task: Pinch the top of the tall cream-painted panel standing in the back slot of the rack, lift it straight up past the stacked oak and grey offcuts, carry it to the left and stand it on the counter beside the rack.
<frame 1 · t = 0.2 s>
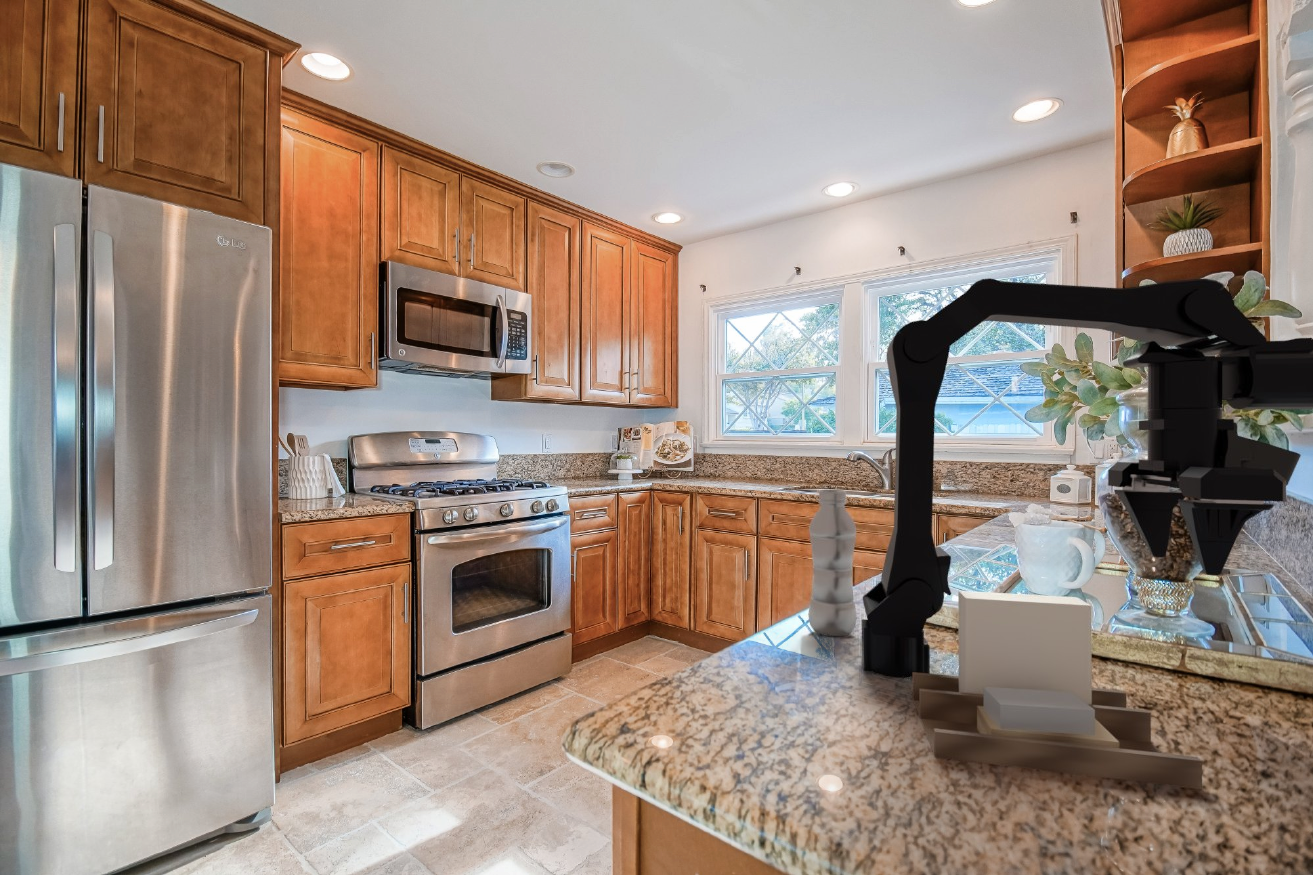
hand: (1183, 565, 62), 14 cm above the counter, tool pointing down, fingers open, 9 cm apart
panel: (1022, 718, 56), point 1 cm above the counter, touching rack
oak offcut: (1043, 746, 51), point 1 cm above the counter, touching grey offcut, rack
grey offcut: (1036, 722, 51), point 3 cm above the counter, touching oak offcut
plastic bottle: (832, 635, 86), on the counter
rack: (1032, 749, 54), on the counter
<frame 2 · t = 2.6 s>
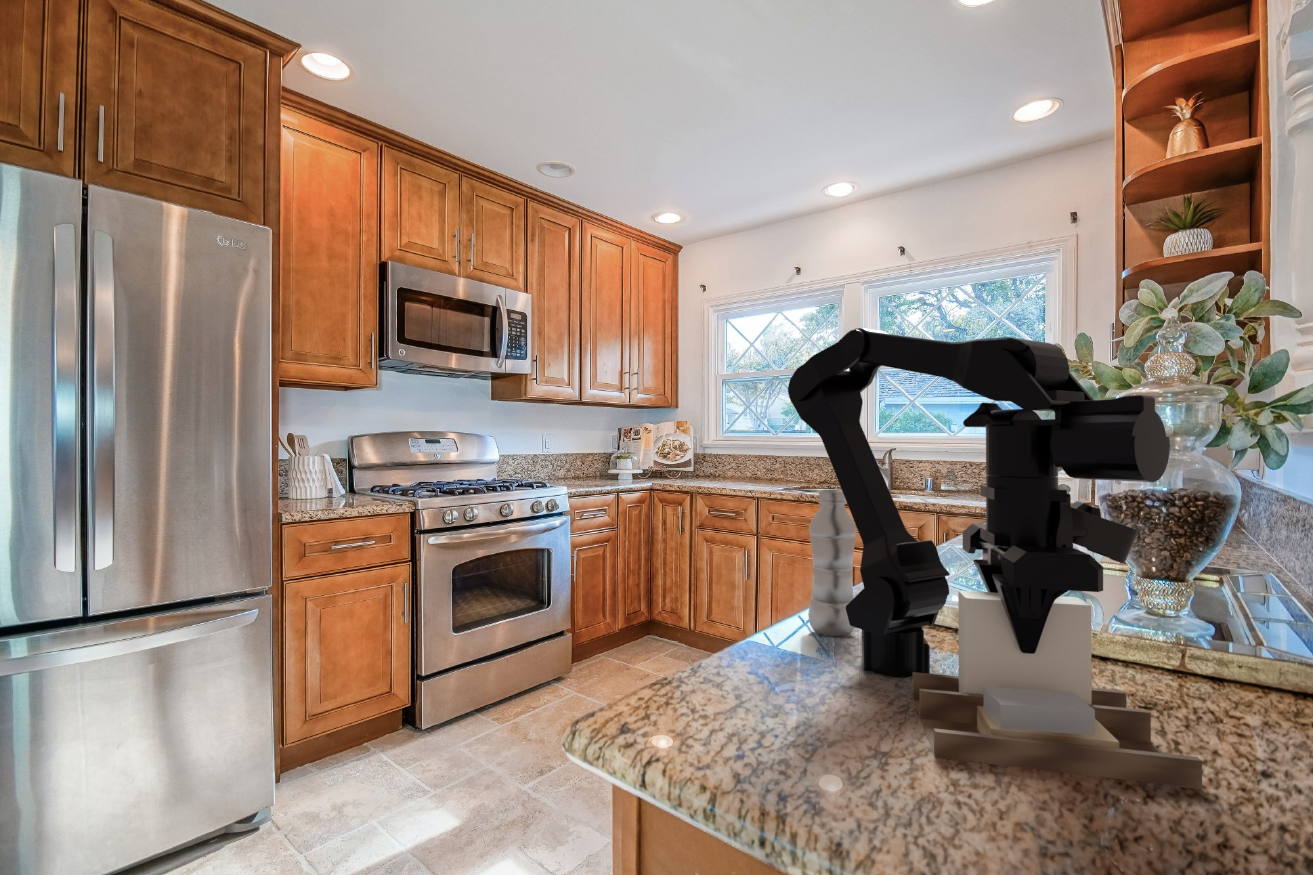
hand: (1021, 646, 56), 8 cm above the counter, tool pointing down, fingers closed on panel, 3 cm apart
panel: (1022, 718, 56), point 2 cm above the counter, touching gripper, rack
everything else where it was.
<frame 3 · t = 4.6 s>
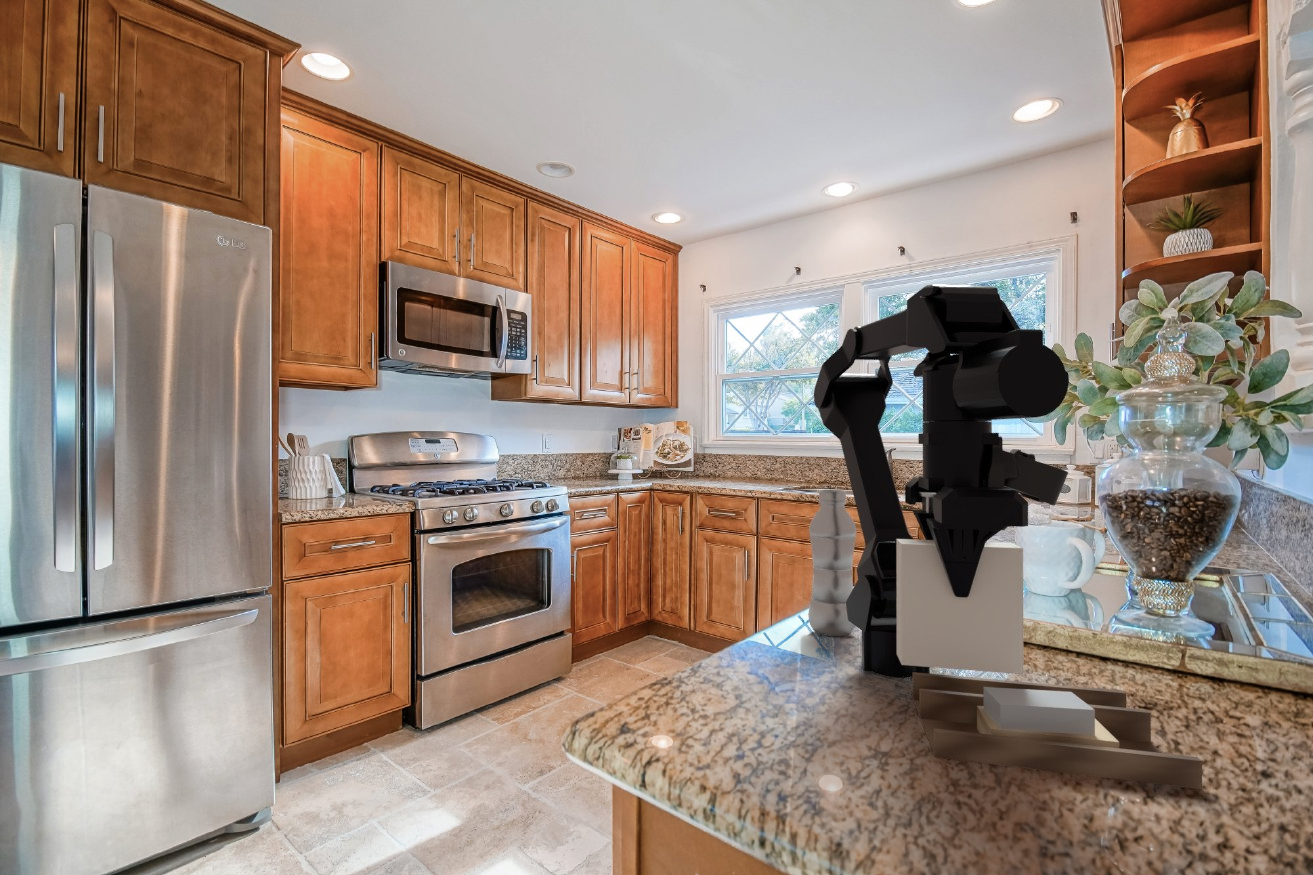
hand: (956, 592, 57), 13 cm above the counter, tool pointing down, fingers closed on panel, 3 cm apart
panel: (957, 663, 56), point 6 cm above the counter, touching gripper
everything else where it was.
when the fingers open (7 cm above the counter, at t = 6.9 s): panel drops 1 cm, on the counter.
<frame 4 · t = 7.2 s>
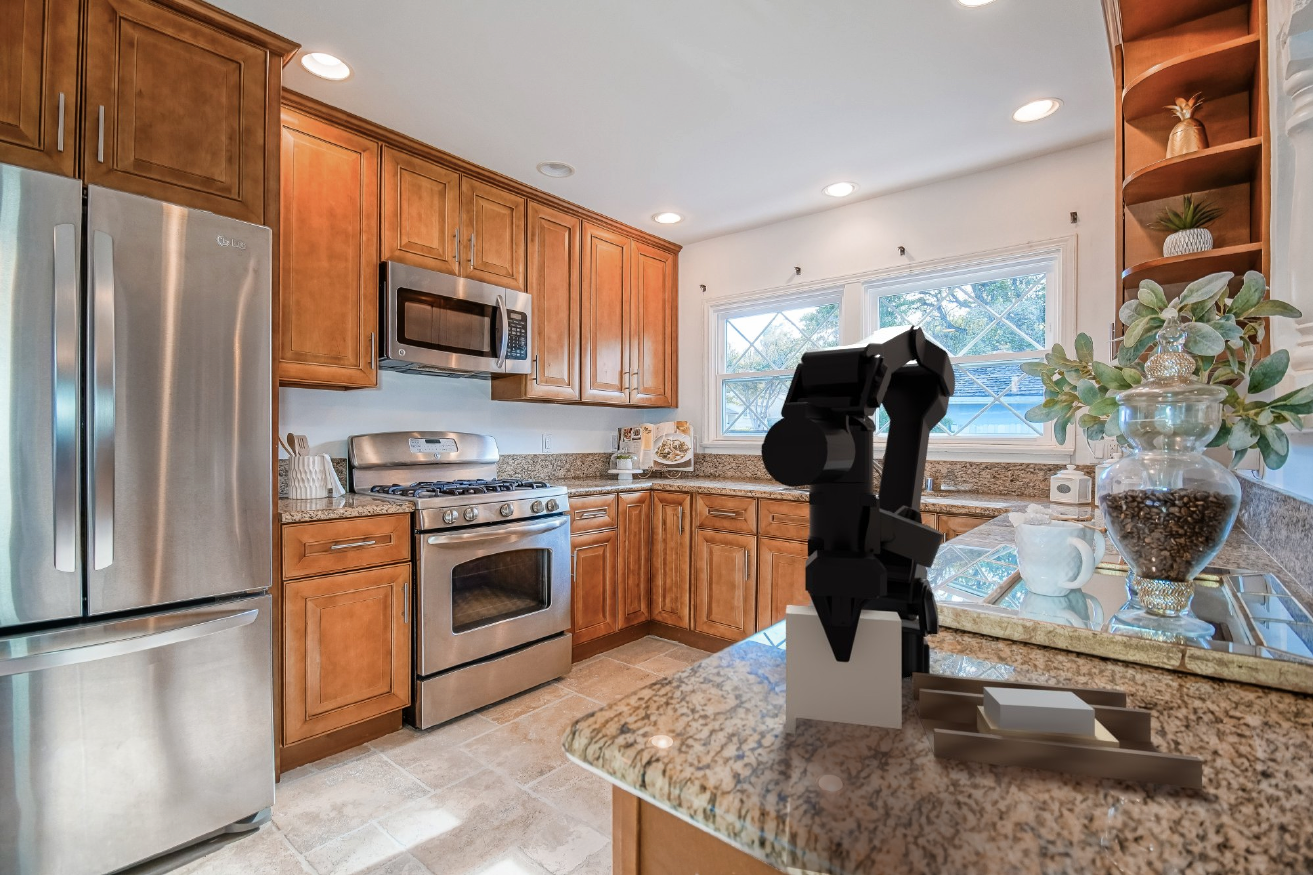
hand: (841, 649, 57), 7 cm above the counter, tool pointing down, fingers open, 6 cm apart
panel: (841, 731, 57), on the counter
everything else where it was.
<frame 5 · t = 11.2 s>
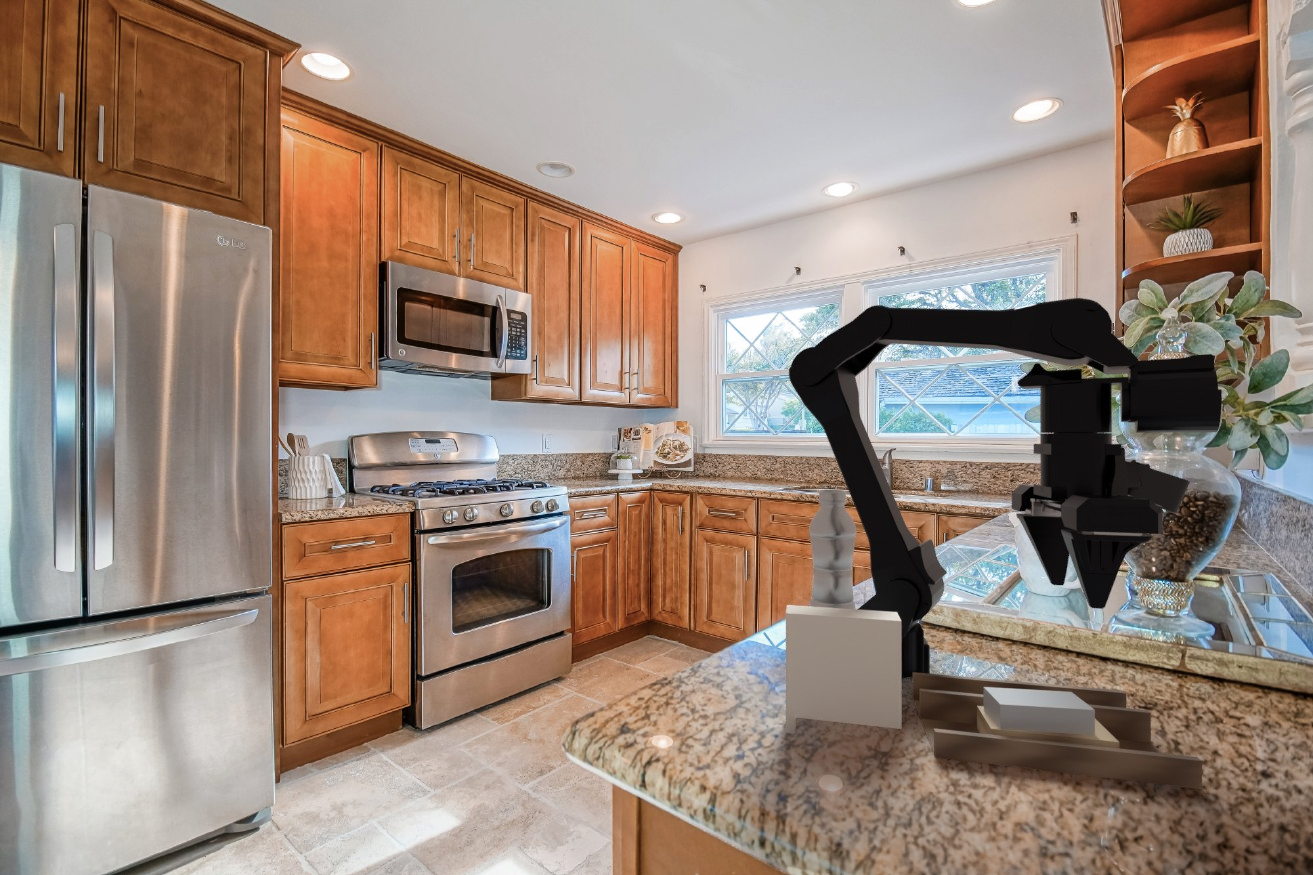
hand: (1075, 595, 59), 12 cm above the counter, tool pointing down, fingers open, 9 cm apart
nothing on the counter moved.
at the end: panel touching counter; panel inside the target area (0.1 cm from its centre), on the counter; panel tilted 0° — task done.
